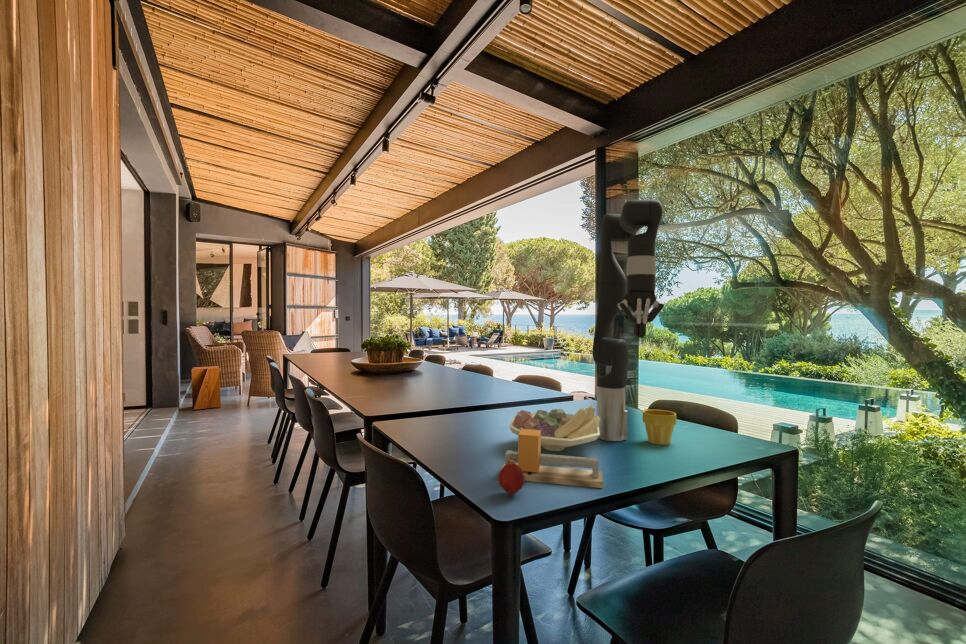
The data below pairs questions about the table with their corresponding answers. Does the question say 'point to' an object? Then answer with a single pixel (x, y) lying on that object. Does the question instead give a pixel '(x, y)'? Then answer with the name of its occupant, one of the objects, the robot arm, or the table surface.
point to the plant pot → (659, 425)
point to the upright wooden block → (529, 450)
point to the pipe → (561, 461)
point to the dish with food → (559, 427)
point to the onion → (511, 478)
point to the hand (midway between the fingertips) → (639, 337)
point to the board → (564, 476)
